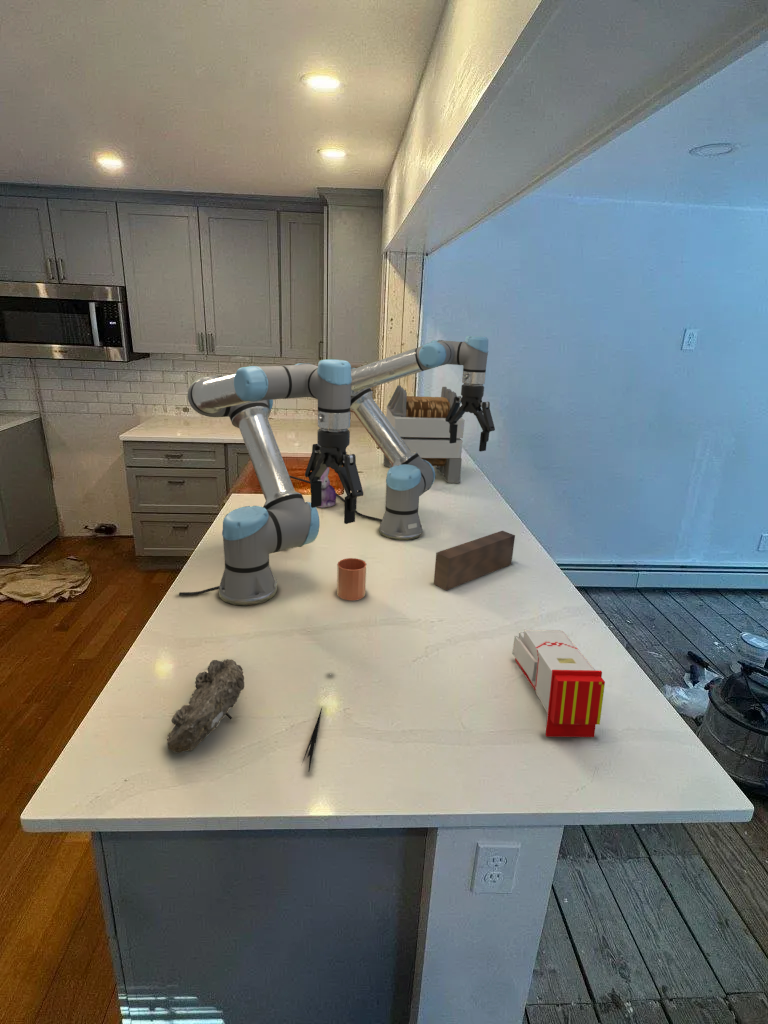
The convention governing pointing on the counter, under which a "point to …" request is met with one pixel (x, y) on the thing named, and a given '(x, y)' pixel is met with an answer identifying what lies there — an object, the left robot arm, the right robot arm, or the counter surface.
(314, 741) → the feather
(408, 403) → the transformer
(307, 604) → the counter surface
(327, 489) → the figurine
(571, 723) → the toy
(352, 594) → the terracotta cup
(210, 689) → the fossil
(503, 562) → the walnut box
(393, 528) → the right robot arm
